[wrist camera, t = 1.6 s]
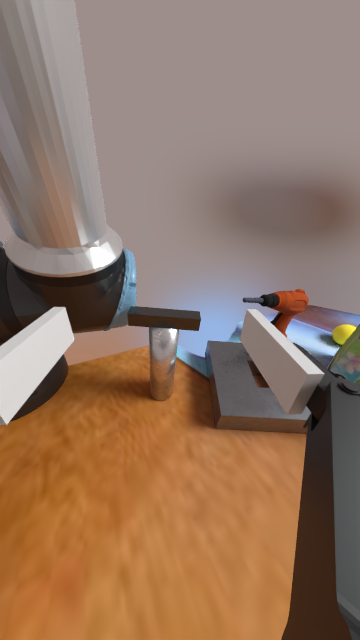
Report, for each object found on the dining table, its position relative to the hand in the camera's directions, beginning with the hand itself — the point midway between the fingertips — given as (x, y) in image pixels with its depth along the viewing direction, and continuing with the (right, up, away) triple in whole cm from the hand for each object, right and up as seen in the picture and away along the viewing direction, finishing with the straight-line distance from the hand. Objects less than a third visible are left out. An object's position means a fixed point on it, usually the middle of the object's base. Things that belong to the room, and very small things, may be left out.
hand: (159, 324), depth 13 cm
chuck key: (-2, -12, +19) cm, 23 cm away
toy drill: (+21, -6, +32) cm, 39 cm away
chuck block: (+17, -13, +21) cm, 30 cm away
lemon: (+45, -6, +35) cm, 58 cm away
